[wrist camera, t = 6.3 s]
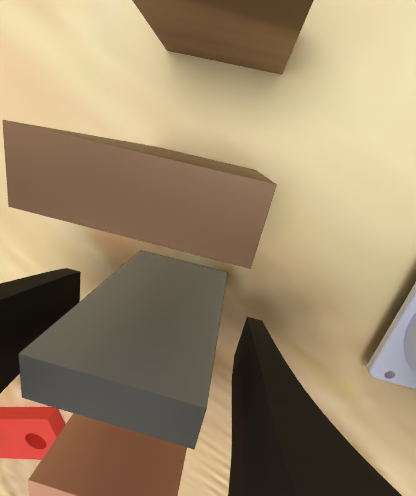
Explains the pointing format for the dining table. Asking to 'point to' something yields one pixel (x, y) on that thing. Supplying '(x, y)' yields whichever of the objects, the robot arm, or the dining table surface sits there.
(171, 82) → the dining table surface
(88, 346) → the gap domino
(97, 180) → the domino
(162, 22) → the domino
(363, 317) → the dining table surface
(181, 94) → the dining table surface
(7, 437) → the bracket
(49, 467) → the domino
